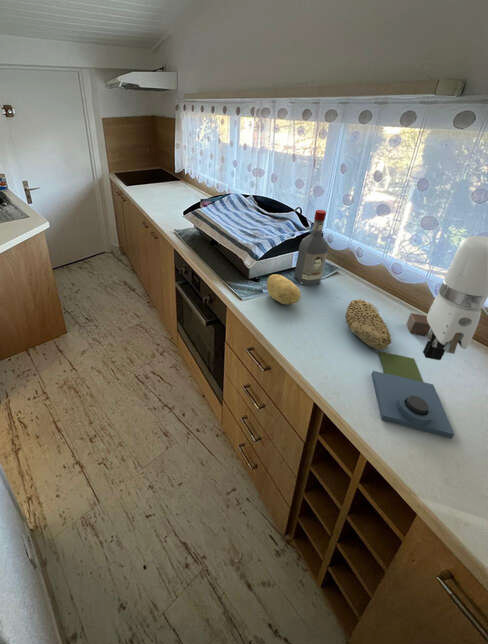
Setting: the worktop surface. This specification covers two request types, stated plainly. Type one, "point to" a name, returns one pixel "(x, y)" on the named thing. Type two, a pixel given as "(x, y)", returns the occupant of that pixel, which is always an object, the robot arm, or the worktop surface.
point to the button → (417, 405)
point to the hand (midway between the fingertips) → (431, 356)
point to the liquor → (312, 253)
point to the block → (418, 324)
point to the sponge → (367, 324)
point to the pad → (400, 366)
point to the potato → (283, 289)
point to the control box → (394, 409)
